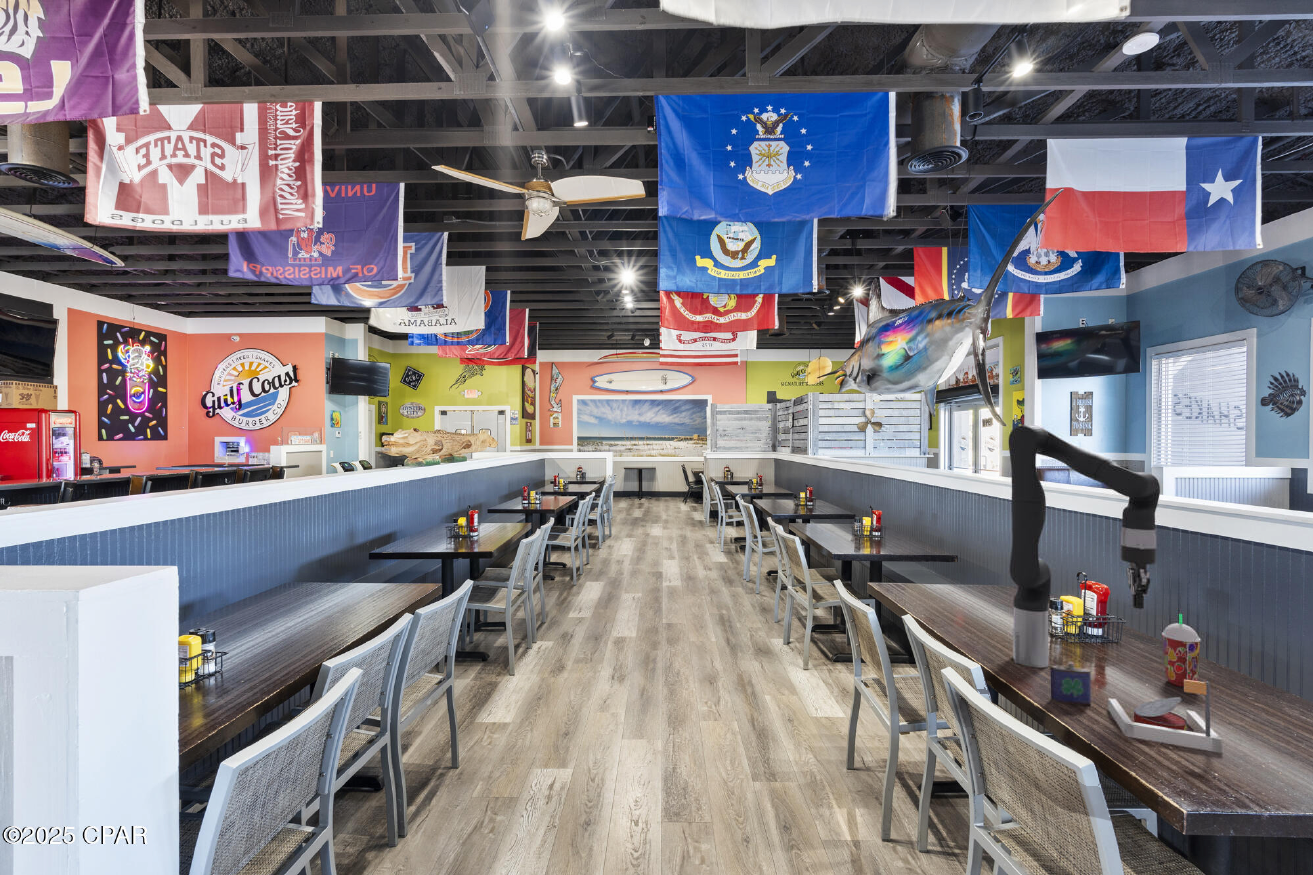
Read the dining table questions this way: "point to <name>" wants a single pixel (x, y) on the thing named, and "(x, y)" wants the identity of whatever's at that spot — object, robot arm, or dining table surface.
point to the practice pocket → (1197, 739)
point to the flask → (1070, 685)
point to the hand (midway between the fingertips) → (1137, 607)
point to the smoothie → (1181, 653)
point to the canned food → (1160, 714)
